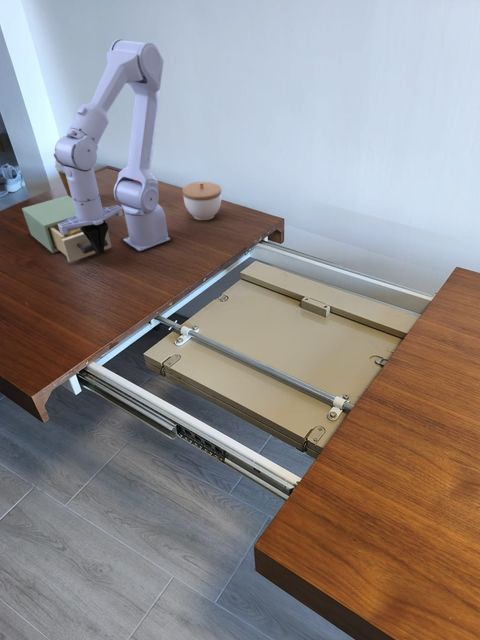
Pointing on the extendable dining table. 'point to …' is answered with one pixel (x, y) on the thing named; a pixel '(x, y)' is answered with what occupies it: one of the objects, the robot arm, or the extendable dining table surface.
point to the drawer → (74, 244)
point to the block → (73, 232)
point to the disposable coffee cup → (63, 178)
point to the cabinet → (48, 218)
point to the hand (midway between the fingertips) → (99, 252)
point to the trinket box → (202, 199)
